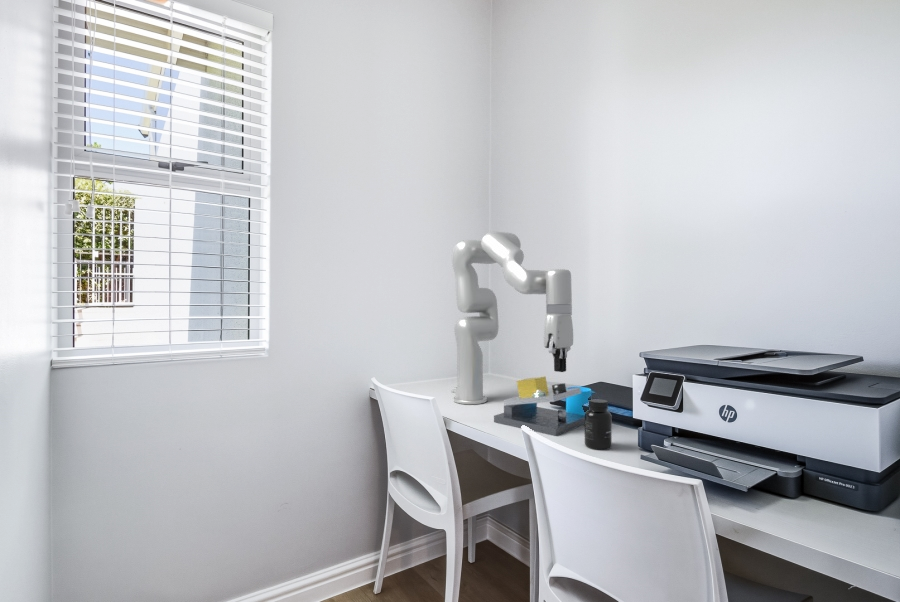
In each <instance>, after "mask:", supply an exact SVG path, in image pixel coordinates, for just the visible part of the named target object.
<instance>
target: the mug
mask: <svg viewBox="0 0 900 602" xmlns="http://www.w3.org/2000/svg"><path fill="white" fill-rule="evenodd" d="M573 388H580V389H581V393H580V394H577V395H574V396H570V397H567V398H565V410H566V412H568V413H573V414H579V415H584V416H585V412H584V410H583V407H582V405H584V404H586V403H588V402H589V400H588V398H589V397H590V396H591V397H592V393H596V392H595V391H593V390H592V389H591V388H590V387H583V386H570V387H566V389H573Z"/></svg>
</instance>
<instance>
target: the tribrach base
mask: <svg viewBox="0 0 900 602" xmlns="http://www.w3.org/2000/svg"><path fill="white" fill-rule="evenodd" d="M537 405H538V403H529V404H515V405H503V412H500V413H498V414H495V415H493V422H494V423H497V424H501V425H505V426H509V427H514V428H519V429H521V428H520V427H521V426H522V425H525V426H527V427H529V428H530V429H532V430H534V431H533V432H537V433H540V434H545V435H550V436H554V437H556V436H559V435H561V434H564V433H567V432H569V431H570V430H571V431H572V430H573V429H576V428H578V427H581V426H583V425H585V416H584V415H579V414H573V413H568V412H566V409H558V410H556V409H550V408H544V407H538V406H537Z"/></svg>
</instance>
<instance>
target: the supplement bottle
mask: <svg viewBox="0 0 900 602" xmlns="http://www.w3.org/2000/svg"><path fill="white" fill-rule="evenodd" d="M608 402H609V401H608V400H606V399H600V398H599V399H595V398H591V400H589V405H588V407H589V410H587V411H586V412H585V424H584V445H585V447H587V448H589V449H592V450H598V451H599V450H600V451H603V450H605V451H606V450H609V449H610V448H612V442H613V441H612V438H613V437H612V434H613V431H612V429H613V428H612V427H613V425H612V421H613V418H612V417H613V416H612V414H611V412H610V411H609V410H608V408H609V406H608V405H609V403H608Z"/></svg>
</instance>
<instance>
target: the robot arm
mask: <svg viewBox="0 0 900 602" xmlns="http://www.w3.org/2000/svg"><path fill="white" fill-rule="evenodd" d="M521 246H522V245H521V241H520V239H519V237H518V236H517V235H516V234H514V233H512V232H505V231H489V232H487V233H485V234H484V235H483V237H482V238H481V240H476V239H465V240H462V241H459V242H457V243H456V244H455V246H454V247H453V249H452V254H451V263H452V267H453V268H452V269H453V272H454V278H455V292H456V293H455V294H456V295H455V296H456V305H457V308H458V310H459V311H460V312H462V313H464V314H466V313H467V314H479V316H478V315H474V316H473V315H472V316H463V317H461V318H459V319H458V320H457V321H456V322H455V324H454V328H453V329H454V331H453V332H454V337H455V341H456V342H455V343H456V353H457V355H456V357H457V358H456V359H457V361H456V362H457V364H456V365H457V367H456V369H457V387H456V386H453V388H452V389H451V390H450V392H451V393H452V394H455V396H454V397H453V402H454V403H456V404H461V405H462V404H463V405H479V404H484V403H486V402H488V397H487V396H485V395H484V367H483V366H484V357H483V356H484V355H483V351H482V350H483V349H482V348H481V346H480V344H479V342H487V341H488V342H489V341H493V340H494V339H496V338H497V336H498V333H499V314H498V301H497V297H496V294H495V292H494V291H493V290H492V289H490V288H488V287H480V286H479V278H478V277H479V276H478V274H477V271H476V269H475V268H474V266H473V265H472V264H482V265H483V264H485V265H493V264H498V265H499V266H500V267H502V274H503V278H504V279H505V281H506V283H508V285H510V286H511V287H512V288H513V289H514V290H515V291H516V292H519V293H520V294H522V295H545V304H546V305H545V306H546V307H545V308H546V309H545V310H546V311H545V312H546V315H545V319H544V325H543V326H544V327H543V328H544V329H543V347H544V348H545V349H548V353H549V354H552V358H553V370H554V372H558V373H565V372H566V371H567V357H568V352H569V351H570V350H571V349H572V348H571V347H572V346H573V345H574V326H573V319H572V315H573V303H572V301H573V300H572V273H571V271H570V270H569V269H564V268H562V269H561V268H560V269H559V268H558V269H550V270H538V269H537V270H536V269H527V268H524V267H523V266H522V263H523V261H524V257H525V255H524V252H523V250H522V249H521Z"/></svg>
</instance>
